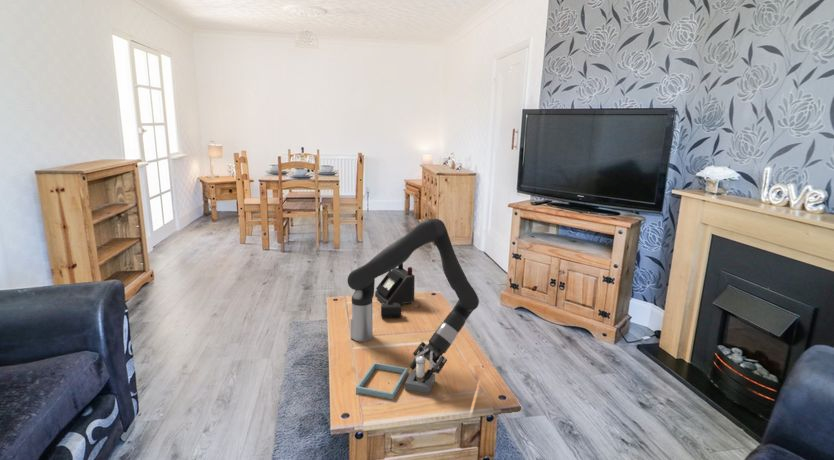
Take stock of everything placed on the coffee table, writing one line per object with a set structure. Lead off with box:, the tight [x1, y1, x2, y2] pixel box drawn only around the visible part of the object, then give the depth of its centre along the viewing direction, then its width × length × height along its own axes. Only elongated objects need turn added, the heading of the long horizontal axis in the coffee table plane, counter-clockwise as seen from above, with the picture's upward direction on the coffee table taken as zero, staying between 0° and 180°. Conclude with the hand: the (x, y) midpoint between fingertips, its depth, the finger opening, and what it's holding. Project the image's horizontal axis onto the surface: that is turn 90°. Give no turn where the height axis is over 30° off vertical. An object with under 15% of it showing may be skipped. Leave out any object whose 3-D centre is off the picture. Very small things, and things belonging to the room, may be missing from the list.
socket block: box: [404, 369, 436, 396], centre depth 165 cm, size 9×9×4 cm
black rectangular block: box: [380, 302, 402, 319], centre depth 225 cm, size 10×7×7 cm
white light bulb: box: [415, 356, 427, 383], centre depth 164 cm, size 4×4×11 cm
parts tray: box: [355, 362, 409, 400], centre depth 167 cm, size 14×18×3 cm
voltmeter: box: [374, 263, 416, 305], centre depth 244 cm, size 16×16×20 cm
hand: (417, 373), depth 163 cm, fingers open, 8 cm apart
